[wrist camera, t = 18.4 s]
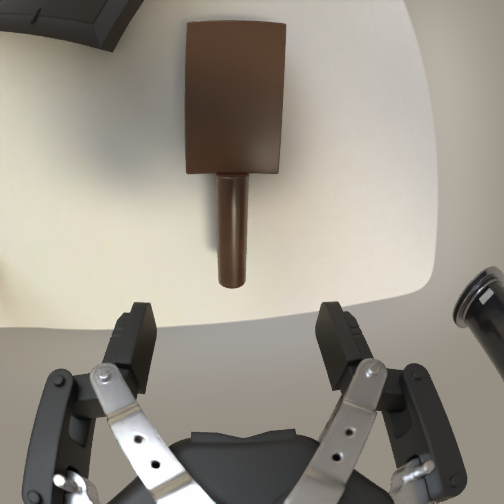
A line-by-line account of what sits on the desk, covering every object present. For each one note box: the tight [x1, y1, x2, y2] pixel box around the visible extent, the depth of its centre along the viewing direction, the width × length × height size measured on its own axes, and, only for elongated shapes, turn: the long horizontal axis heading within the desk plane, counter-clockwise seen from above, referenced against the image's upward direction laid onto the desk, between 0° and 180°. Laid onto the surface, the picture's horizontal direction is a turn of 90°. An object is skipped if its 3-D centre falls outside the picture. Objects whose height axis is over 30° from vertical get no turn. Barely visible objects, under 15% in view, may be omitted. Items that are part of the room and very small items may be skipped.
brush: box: [185, 20, 286, 289], centre depth 17 cm, size 18×6×4 cm, turn 178°
